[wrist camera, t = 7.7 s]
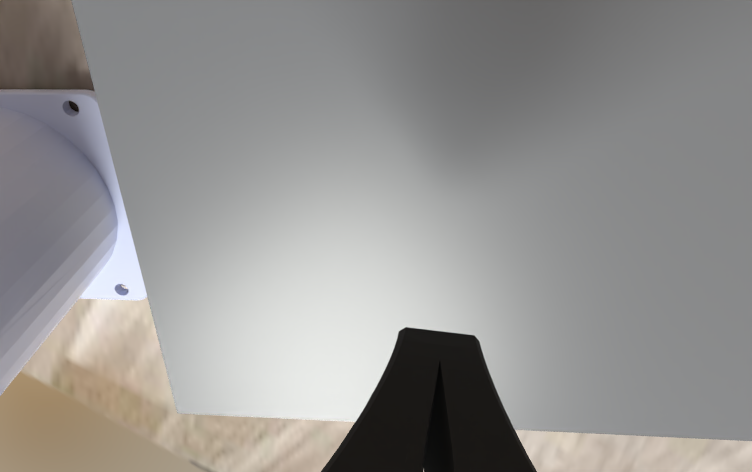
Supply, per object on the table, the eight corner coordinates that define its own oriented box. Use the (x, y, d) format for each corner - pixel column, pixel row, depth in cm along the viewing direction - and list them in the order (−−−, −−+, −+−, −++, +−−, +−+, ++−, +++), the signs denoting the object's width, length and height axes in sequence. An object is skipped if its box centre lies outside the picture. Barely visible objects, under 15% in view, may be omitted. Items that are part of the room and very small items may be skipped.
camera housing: (233, 294, 24) (177, 413, 19) (172, -58, 18) (66, -21, 13) (786, 311, 23) (886, 447, 17) (929, -72, 16) (1152, -36, 11)
